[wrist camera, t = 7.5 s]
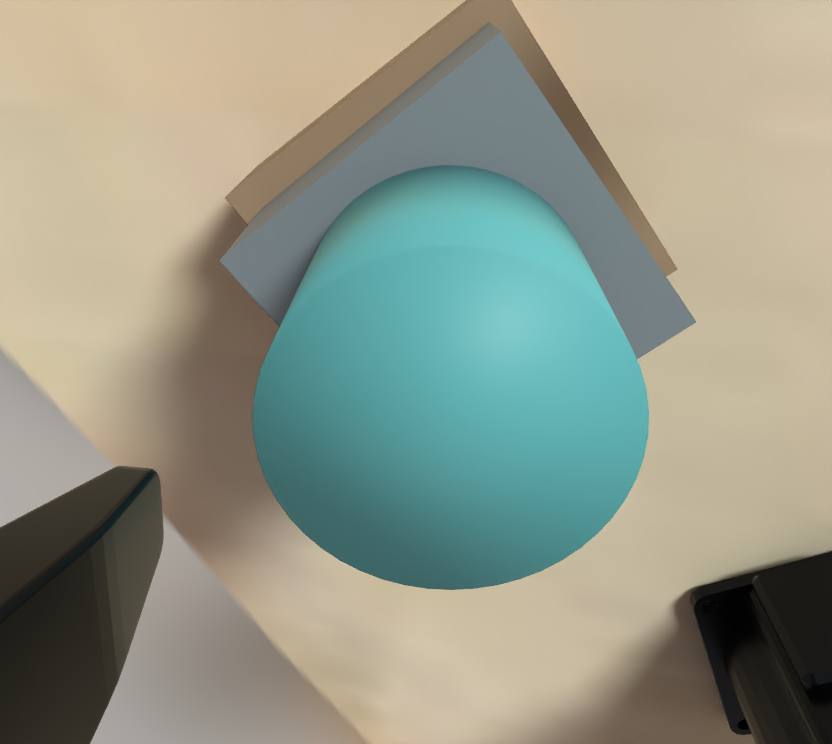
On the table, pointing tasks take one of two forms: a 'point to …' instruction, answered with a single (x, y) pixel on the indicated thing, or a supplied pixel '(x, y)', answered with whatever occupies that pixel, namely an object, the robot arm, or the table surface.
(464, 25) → the lower block
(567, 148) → the upper block
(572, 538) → the teal rounded dome
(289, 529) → the table surface
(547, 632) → the table surface
